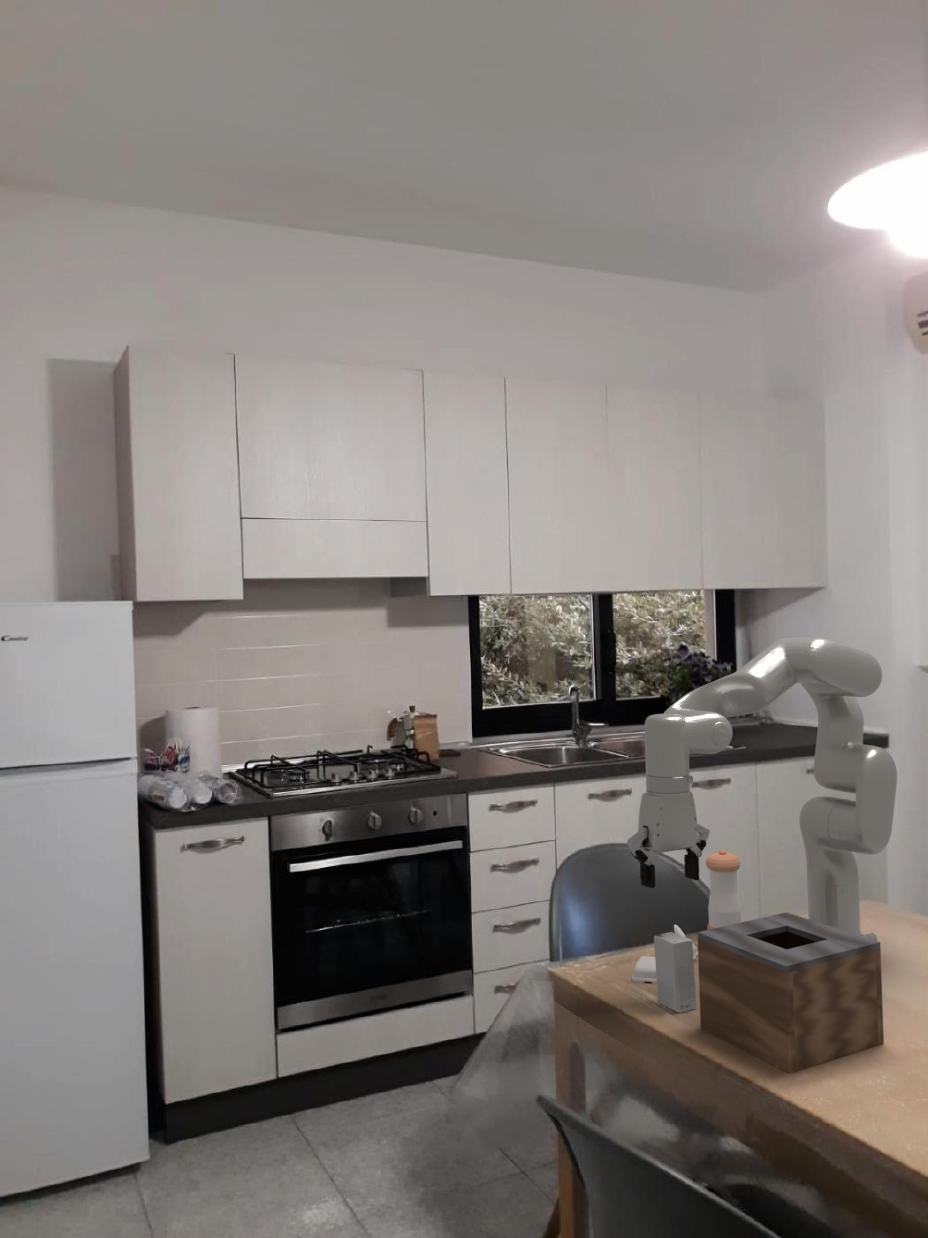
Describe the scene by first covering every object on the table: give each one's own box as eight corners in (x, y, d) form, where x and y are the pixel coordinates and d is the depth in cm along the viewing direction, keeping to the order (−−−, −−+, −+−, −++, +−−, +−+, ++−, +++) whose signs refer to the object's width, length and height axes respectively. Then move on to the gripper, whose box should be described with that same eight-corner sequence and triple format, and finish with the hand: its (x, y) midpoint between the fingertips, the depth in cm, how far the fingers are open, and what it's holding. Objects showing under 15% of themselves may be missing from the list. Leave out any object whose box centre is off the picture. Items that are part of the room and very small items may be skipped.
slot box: (789, 1003, 184) (786, 912, 183) (883, 1043, 166) (880, 942, 166) (700, 1028, 174) (697, 932, 174) (790, 1073, 157) (786, 966, 156)
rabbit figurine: (684, 966, 205) (654, 940, 210) (686, 975, 208) (656, 950, 213) (705, 945, 207) (674, 920, 212) (706, 955, 210) (676, 930, 215)
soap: (637, 968, 206) (637, 953, 206) (672, 970, 204) (672, 955, 204) (629, 983, 197) (629, 968, 197) (666, 986, 195) (665, 971, 195)
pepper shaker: (719, 934, 224) (716, 844, 223) (750, 941, 218) (747, 849, 218) (701, 942, 218) (697, 850, 218) (731, 950, 213) (728, 855, 213)
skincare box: (697, 1009, 183) (695, 939, 183) (676, 1014, 181) (674, 944, 181) (675, 998, 188) (673, 930, 188) (655, 1003, 186) (652, 934, 186)
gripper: (692, 777, 192) (694, 871, 192) (614, 787, 183) (617, 885, 183) (720, 783, 185) (722, 880, 185) (641, 792, 177) (643, 894, 177)
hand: (670, 882), depth 184 cm, fingers open, 9 cm apart
